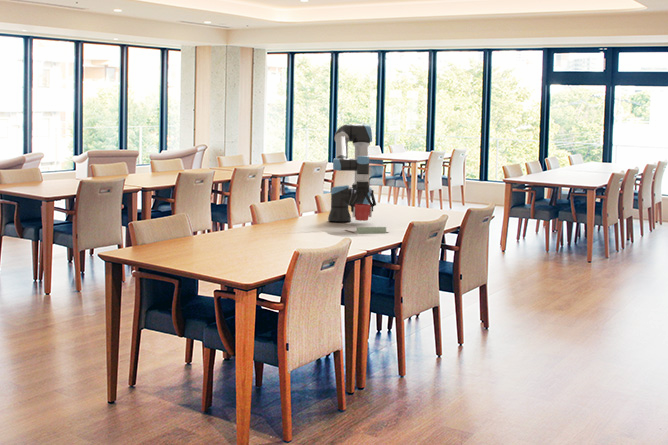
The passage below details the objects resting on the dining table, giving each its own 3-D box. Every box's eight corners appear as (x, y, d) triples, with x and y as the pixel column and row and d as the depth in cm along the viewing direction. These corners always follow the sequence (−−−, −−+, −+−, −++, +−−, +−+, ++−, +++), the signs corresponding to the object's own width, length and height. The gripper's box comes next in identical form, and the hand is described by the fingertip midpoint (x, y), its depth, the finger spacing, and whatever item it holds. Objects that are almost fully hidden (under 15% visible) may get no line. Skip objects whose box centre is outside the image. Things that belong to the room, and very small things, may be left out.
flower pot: (370, 219, 477) (371, 204, 476) (369, 221, 467) (370, 205, 466) (353, 219, 479) (354, 203, 477) (352, 220, 468) (352, 204, 467)
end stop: (356, 232, 454) (356, 227, 453) (384, 232, 459) (385, 226, 458) (357, 233, 452) (357, 227, 451) (386, 232, 457) (386, 227, 457)
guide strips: (344, 230, 469) (344, 229, 469) (378, 230, 476) (378, 229, 476) (353, 233, 452) (353, 232, 452) (388, 232, 458) (388, 232, 458)
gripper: (346, 181, 463) (346, 218, 466) (382, 181, 470) (381, 217, 472) (343, 180, 470) (342, 216, 473) (378, 180, 477) (377, 216, 479)
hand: (361, 217), depth 472 cm, fingers closed on flower pot, 10 cm apart
